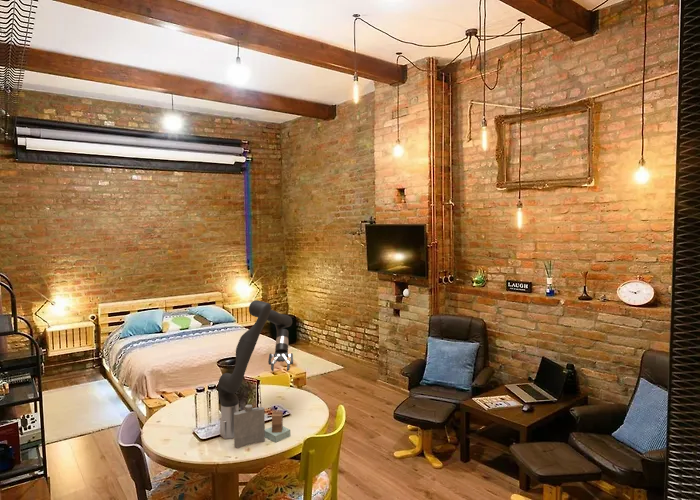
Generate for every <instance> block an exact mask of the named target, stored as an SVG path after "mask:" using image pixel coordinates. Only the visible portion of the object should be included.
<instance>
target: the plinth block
mask: <svg viewBox="0 0 700 500" xmlns="http://www.w3.org/2000/svg"><path fill="white" fill-rule="evenodd" d="M289 437H291V429H290V428H289V427H286V426H283V429H282V432H272V426H270V427H268V428H265V439H267V440H270V441H272V442H273V443H279V442H280V441H283V440H285V439H287V438H289Z"/></svg>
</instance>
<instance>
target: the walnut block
mask: <svg viewBox="0 0 700 500" xmlns="http://www.w3.org/2000/svg"><path fill="white" fill-rule="evenodd" d="M283 415H284V413H283V411H273V412H272V414H271V427H272V432H282V429H283V425H284V421H283V420H284V419H283V417H284V416H283Z"/></svg>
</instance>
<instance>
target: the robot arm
mask: <svg viewBox="0 0 700 500" xmlns="http://www.w3.org/2000/svg"><path fill="white" fill-rule="evenodd" d="M248 313H249V314H250V316H252V317H255V318H256V321H255V323H254V324H253V325H252V326H251V327H250V328H249V329H248V330H246V331H245V332H244V333H243V334H242V335H241V336H240V338H239V340H238V342H237V345H236V349H235V365H234V369H232V373H229V372H225V373H223V374H221V376H220V377H219V379H218V383H217V384H218V386H217V387H218V398H219V401H220V418H219V433H220V434H219V435H220V436H221V437H222V438H223V439H224V440H226V439H234V413H235V412H239V410H240V407H239V404H240V402H239V397H238V395H237V394H236V393H237V392H238V391H239V390H240V389H241V386H242V384H243V381H244V378H245V374H246V371H247V368H248V365H249V362H250V360H251V356H252V354H253V352H254V350H255V347H256V345H257V342H258V340H259V337H260V335H261V333H262V330H263V328H264V326H265V324H266V322H267V321H268V322H270V323H272V324H274V326H275V328H276V340H275V349H274V354H272V353H269V355H268V366H269V365H270V370H271V371H272V372H274V369H275V365H276V364H277V362H278V363H281V362H282V363H283V362H285V363H286V372H289V371H290V368H291V367H290V366H291V365H293V364H294V353H289V334H290V333H289V330H288V329H286V328H289V327H291V326H292V324H293V319H292V317H291V316H290V315H288V314H284V313H280V312H278V311H275V310H274V309H272V305H271V303H269V302H266V301H261V300H255V299H254V300H253V301H251V303H250V304H249V307H248ZM288 358H289V359H290V361H289V359H288ZM272 359H273V360H272Z"/></svg>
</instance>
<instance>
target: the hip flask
mask: <svg viewBox="0 0 700 500" xmlns="http://www.w3.org/2000/svg"><path fill="white" fill-rule="evenodd" d="M244 407H245V409H243V410H240V411H239V412H235V413H234V438H233V442H234V444H233V445H234V446H233V447H234V449H240V448H243V447H246V446H250V445H254V444H258V443H259V444H260V443H264V442H265V441H266V438H265V429H266V427H265V426H266V424H265V423H266V422H265V407H264V406H261V407H260V406H259V407H253V405H252V404H246V405H245V406H244Z"/></svg>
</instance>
